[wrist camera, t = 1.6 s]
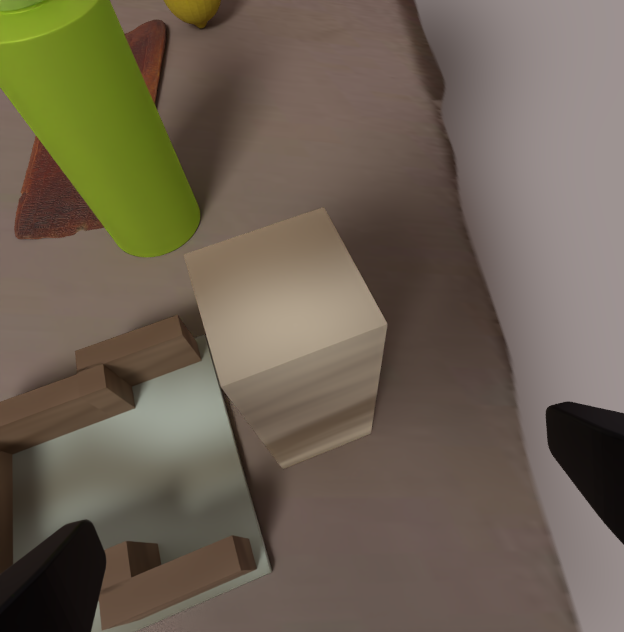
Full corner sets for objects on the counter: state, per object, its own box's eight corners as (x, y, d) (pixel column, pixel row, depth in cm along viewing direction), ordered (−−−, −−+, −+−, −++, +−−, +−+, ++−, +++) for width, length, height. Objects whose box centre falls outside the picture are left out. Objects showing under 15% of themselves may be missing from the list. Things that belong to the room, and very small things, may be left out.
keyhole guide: (272, 571, 18) (256, 574, 15) (-10, 694, 17) (-88, 723, 14) (206, 337, 24) (186, 306, 21) (-6, 415, 23) (-60, 393, 20)
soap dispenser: (111, 192, 30) (-209, -295, 13) (206, 188, 30) (5, -327, 12) (88, 259, 27) (-364, -254, 10) (193, 256, 27) (-93, -292, 10)
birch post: (370, 433, 21) (387, 323, 11) (282, 469, 20) (220, 386, 10) (335, 354, 23) (323, 206, 13) (255, 385, 22) (183, 254, 13)
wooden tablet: (74, 43, 43) (64, 25, 41) (172, 29, 42) (166, 11, 41) (-1, 251, 29) (-20, 235, 28) (142, 233, 29) (131, 216, 28)
